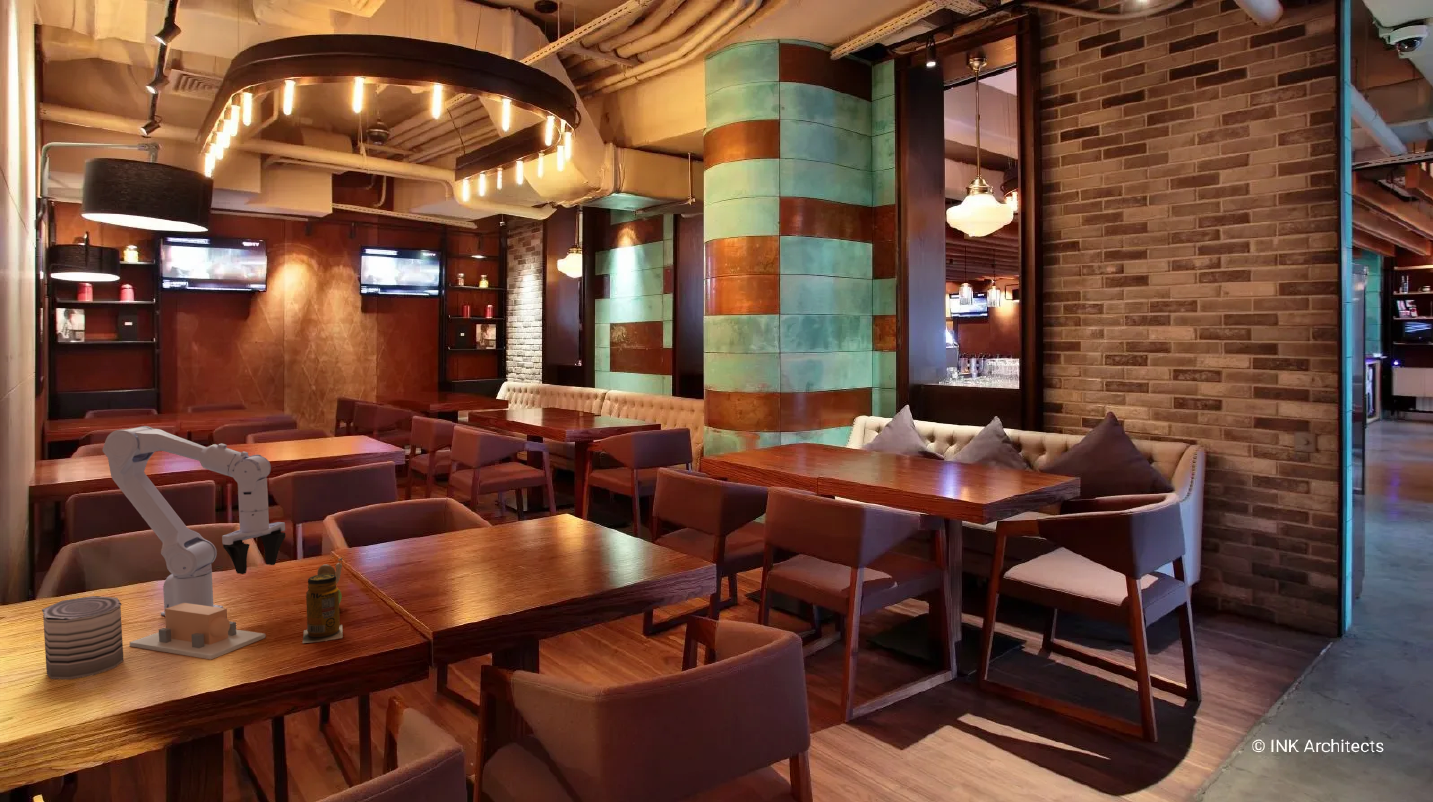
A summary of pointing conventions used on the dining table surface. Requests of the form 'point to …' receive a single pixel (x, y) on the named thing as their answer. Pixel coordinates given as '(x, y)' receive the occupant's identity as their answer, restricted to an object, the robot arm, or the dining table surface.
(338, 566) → the snail figurine
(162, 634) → the cradle jig
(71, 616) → the can
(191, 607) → the block
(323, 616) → the condiment
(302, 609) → the dining table surface
